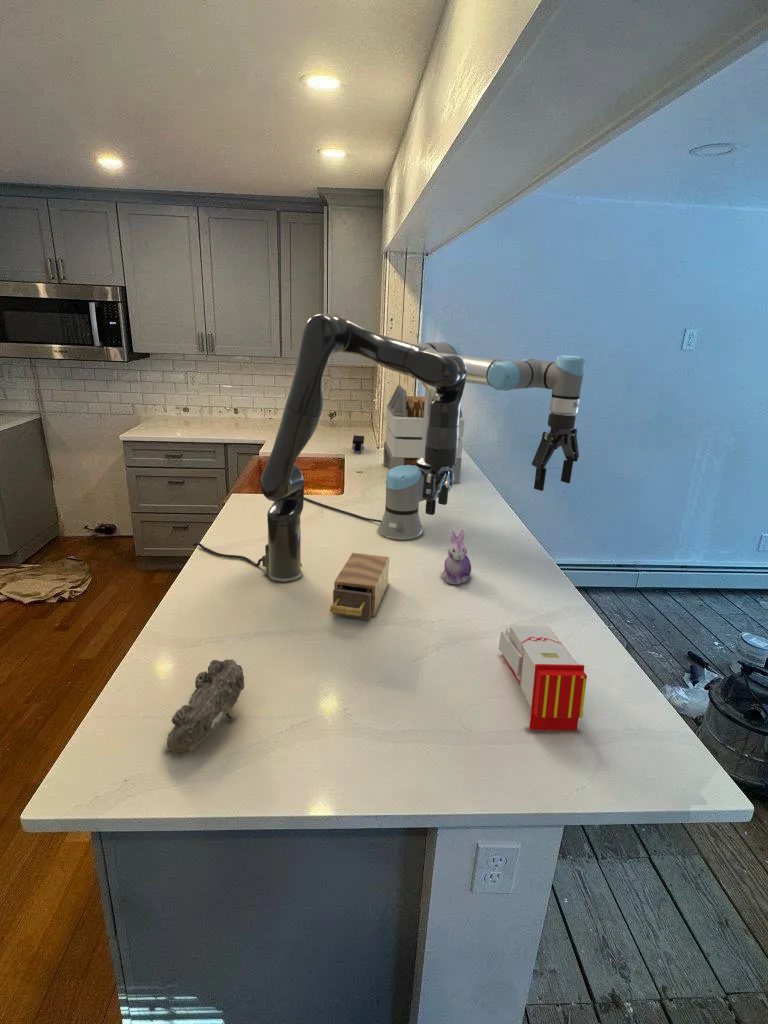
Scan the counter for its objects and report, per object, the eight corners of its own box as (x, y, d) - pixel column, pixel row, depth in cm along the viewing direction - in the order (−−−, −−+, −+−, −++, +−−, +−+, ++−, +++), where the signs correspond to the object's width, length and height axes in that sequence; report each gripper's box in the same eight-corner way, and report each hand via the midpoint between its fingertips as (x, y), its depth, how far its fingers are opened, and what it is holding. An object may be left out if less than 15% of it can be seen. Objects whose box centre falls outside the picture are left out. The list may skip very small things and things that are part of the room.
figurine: (453, 588, 162) (457, 540, 157) (434, 573, 170) (437, 527, 165) (479, 582, 166) (485, 535, 161) (459, 568, 175) (464, 523, 170)
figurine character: (364, 456, 305) (364, 447, 319) (364, 443, 302) (364, 434, 315) (351, 456, 305) (352, 446, 318) (351, 443, 302) (352, 434, 315)
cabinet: (374, 616, 146) (375, 586, 143) (334, 610, 148) (334, 581, 145) (388, 584, 163) (389, 557, 160) (351, 579, 165) (352, 552, 162)
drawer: (363, 631, 137) (364, 607, 135) (325, 625, 139) (326, 601, 137) (383, 587, 159) (384, 566, 157) (350, 583, 161) (350, 562, 158)
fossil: (192, 660, 117) (244, 628, 112) (224, 691, 120) (276, 661, 115) (142, 746, 98) (202, 712, 93) (182, 779, 101) (242, 748, 96)
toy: (545, 610, 133) (596, 671, 104) (540, 662, 136) (588, 737, 106) (494, 609, 133) (530, 670, 103) (490, 662, 135) (524, 736, 106)
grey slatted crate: (382, 463, 289) (386, 382, 275) (445, 464, 293) (451, 384, 279) (390, 482, 257) (394, 392, 243) (460, 483, 261) (468, 394, 247)
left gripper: (437, 436, 140) (432, 498, 146) (415, 447, 128) (410, 514, 133) (466, 440, 137) (460, 503, 143) (446, 452, 125) (440, 520, 130)
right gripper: (548, 419, 148) (537, 496, 155) (598, 411, 163) (586, 482, 171) (525, 414, 153) (515, 489, 160) (575, 407, 169) (564, 476, 176)
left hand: (436, 509), depth 138 cm, fingers open, 8 cm apart
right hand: (552, 485), depth 166 cm, fingers open, 13 cm apart
